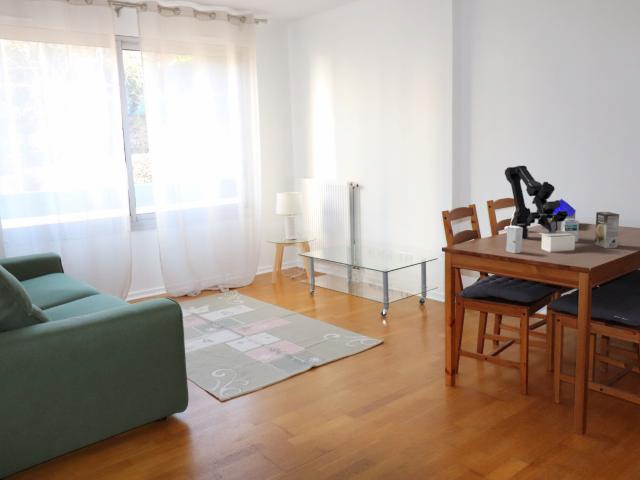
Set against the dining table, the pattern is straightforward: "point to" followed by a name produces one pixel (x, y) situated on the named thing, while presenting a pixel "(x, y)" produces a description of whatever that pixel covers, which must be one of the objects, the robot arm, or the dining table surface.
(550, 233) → the carton lid
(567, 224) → the light bulb box
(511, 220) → the seated beast figurine
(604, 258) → the dining table surface
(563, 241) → the carton
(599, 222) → the coffee box
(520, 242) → the skincare box
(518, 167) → the robot arm
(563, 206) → the house
